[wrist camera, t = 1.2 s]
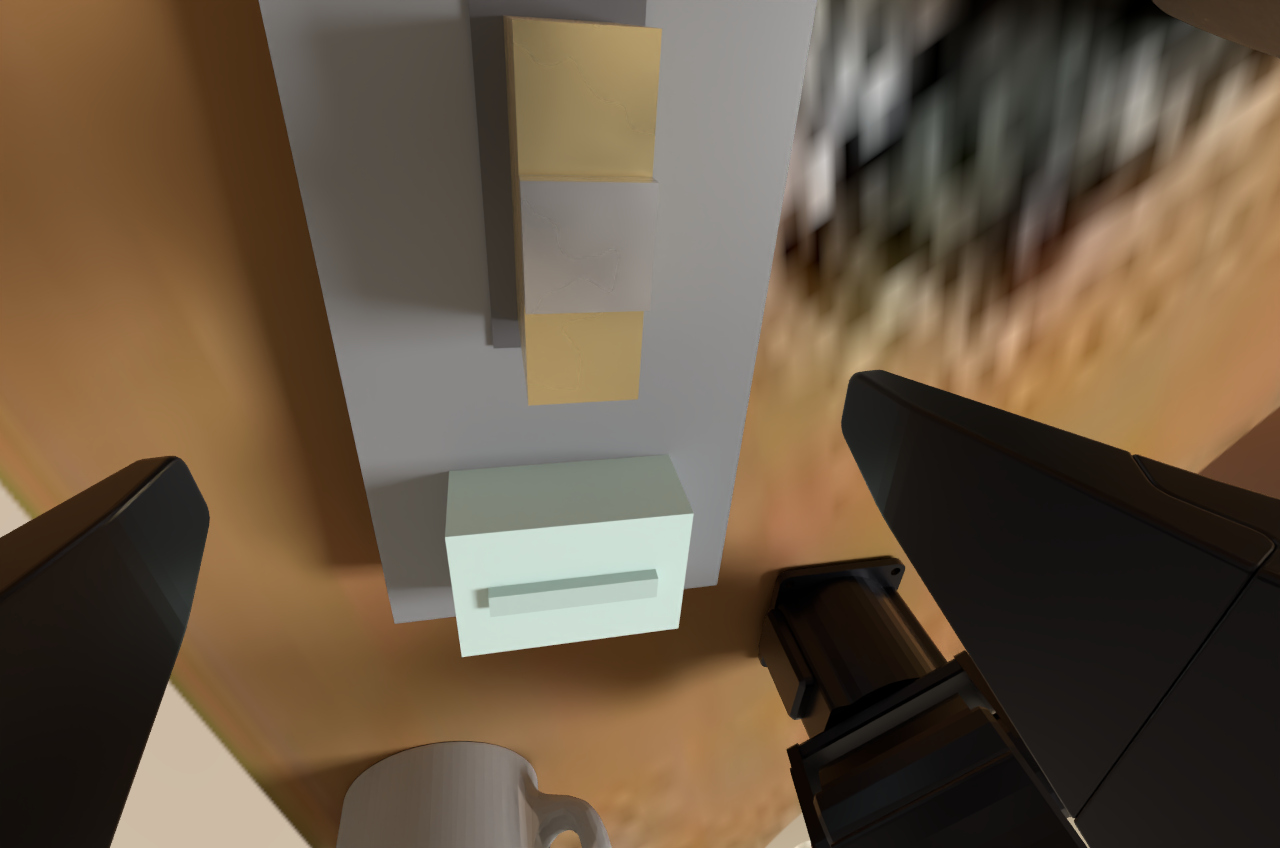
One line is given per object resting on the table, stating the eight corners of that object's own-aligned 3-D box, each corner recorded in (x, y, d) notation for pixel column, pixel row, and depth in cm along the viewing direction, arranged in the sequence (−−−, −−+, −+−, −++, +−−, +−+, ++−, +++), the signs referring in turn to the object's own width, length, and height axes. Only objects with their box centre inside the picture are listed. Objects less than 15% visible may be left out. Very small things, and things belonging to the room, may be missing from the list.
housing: (774, -36, 17) (828, -43, 14) (695, 533, 28) (718, 588, 25) (278, -80, 14) (233, -98, 12) (402, 563, 25) (394, 628, 23)
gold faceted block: (614, 22, 14) (669, 29, 10) (605, 318, 18) (643, 410, 14) (503, 15, 14) (513, 19, 10) (518, 320, 17) (530, 417, 13)
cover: (668, 454, 21) (697, 522, 18) (657, 564, 24) (681, 638, 21) (449, 471, 20) (444, 547, 17) (463, 585, 22) (461, 668, 20)
